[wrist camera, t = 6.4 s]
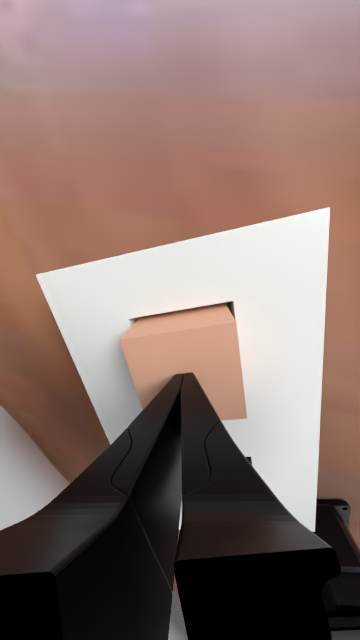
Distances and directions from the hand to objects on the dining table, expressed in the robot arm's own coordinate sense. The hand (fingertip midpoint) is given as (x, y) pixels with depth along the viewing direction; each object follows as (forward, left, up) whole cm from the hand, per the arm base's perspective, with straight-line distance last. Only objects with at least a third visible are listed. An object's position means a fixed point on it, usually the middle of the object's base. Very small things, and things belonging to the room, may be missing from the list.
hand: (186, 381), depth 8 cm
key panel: (-5, 0, -6) cm, 8 cm away
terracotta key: (0, 0, -4) cm, 4 cm away
